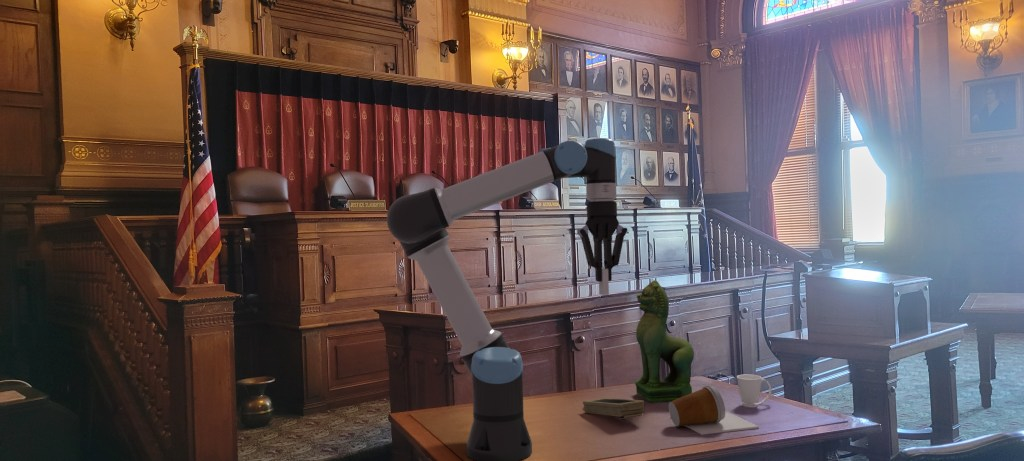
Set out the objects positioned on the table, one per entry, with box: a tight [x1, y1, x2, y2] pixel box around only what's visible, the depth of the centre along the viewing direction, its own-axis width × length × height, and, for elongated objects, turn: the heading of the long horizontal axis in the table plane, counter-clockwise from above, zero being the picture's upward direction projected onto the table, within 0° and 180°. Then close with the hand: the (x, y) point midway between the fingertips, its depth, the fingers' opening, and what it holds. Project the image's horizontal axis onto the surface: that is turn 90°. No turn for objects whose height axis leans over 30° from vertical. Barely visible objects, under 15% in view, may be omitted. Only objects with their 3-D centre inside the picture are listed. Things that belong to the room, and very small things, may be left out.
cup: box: [736, 373, 773, 408], centre depth 202 cm, size 7×10×8 cm
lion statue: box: [634, 279, 695, 404], centre depth 214 cm, size 14×17×35 cm
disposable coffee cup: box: [668, 385, 726, 427], centre depth 183 cm, size 10×10×12 cm
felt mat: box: [684, 410, 759, 436], centre depth 186 cm, size 16×16×1 cm
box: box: [582, 397, 645, 421], centre depth 194 cm, size 8×22×5 cm, turn 26°
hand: (604, 294), depth 181 cm, fingers closed
